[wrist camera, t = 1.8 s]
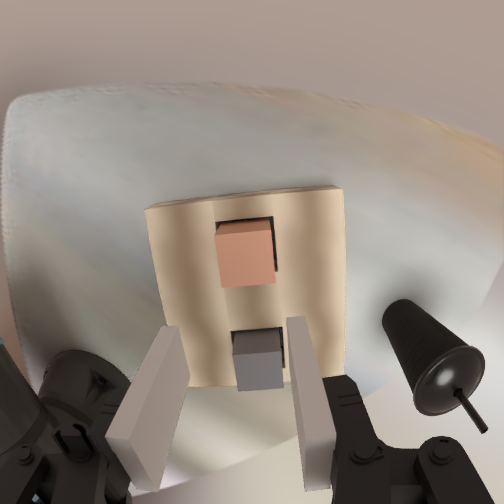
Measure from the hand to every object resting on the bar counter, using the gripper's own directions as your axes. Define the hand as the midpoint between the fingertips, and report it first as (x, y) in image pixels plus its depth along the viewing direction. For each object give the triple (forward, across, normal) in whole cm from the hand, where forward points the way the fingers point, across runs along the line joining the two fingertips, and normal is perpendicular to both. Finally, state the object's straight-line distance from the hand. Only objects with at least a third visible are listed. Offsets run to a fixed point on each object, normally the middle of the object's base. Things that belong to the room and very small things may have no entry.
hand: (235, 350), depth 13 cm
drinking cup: (+21, +17, -12) cm, 29 cm away
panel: (+21, 0, -6) cm, 21 cm away
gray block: (+18, 0, -11) cm, 21 cm away
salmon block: (+18, 0, 0) cm, 18 cm away
